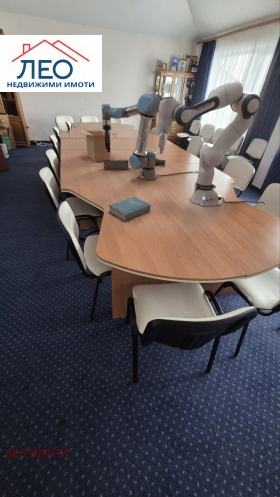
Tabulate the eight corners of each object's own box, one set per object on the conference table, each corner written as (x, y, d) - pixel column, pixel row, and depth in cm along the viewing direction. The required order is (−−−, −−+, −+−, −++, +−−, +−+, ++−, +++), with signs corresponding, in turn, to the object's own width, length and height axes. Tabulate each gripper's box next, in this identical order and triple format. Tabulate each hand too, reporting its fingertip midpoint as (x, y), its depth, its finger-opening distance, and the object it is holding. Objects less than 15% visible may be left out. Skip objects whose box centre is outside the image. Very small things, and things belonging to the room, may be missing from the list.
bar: (104, 169, 216) (103, 161, 211) (103, 168, 220) (103, 159, 215) (128, 169, 222) (128, 160, 217) (127, 167, 225) (127, 159, 220)
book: (133, 203, 159) (134, 196, 156) (150, 211, 150) (150, 204, 147) (108, 212, 145) (108, 205, 142) (125, 221, 137) (125, 214, 134)
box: (120, 162, 240) (121, 134, 224) (89, 164, 226) (86, 135, 210) (106, 152, 270) (105, 127, 254) (77, 154, 256) (74, 127, 240)
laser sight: (164, 167, 235) (165, 157, 229) (143, 164, 238) (144, 154, 232) (165, 164, 242) (166, 155, 236) (145, 162, 245) (145, 152, 239)
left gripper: (113, 126, 187) (113, 153, 199) (109, 123, 206) (109, 147, 219) (104, 126, 185) (105, 153, 197) (101, 123, 205) (102, 147, 217)
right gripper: (168, 131, 127) (165, 156, 135) (170, 126, 143) (167, 149, 152) (157, 130, 128) (155, 155, 136) (160, 125, 144) (158, 148, 152)
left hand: (107, 150), depth 208 cm, fingers open, 13 cm apart
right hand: (161, 152), depth 144 cm, fingers open, 8 cm apart
